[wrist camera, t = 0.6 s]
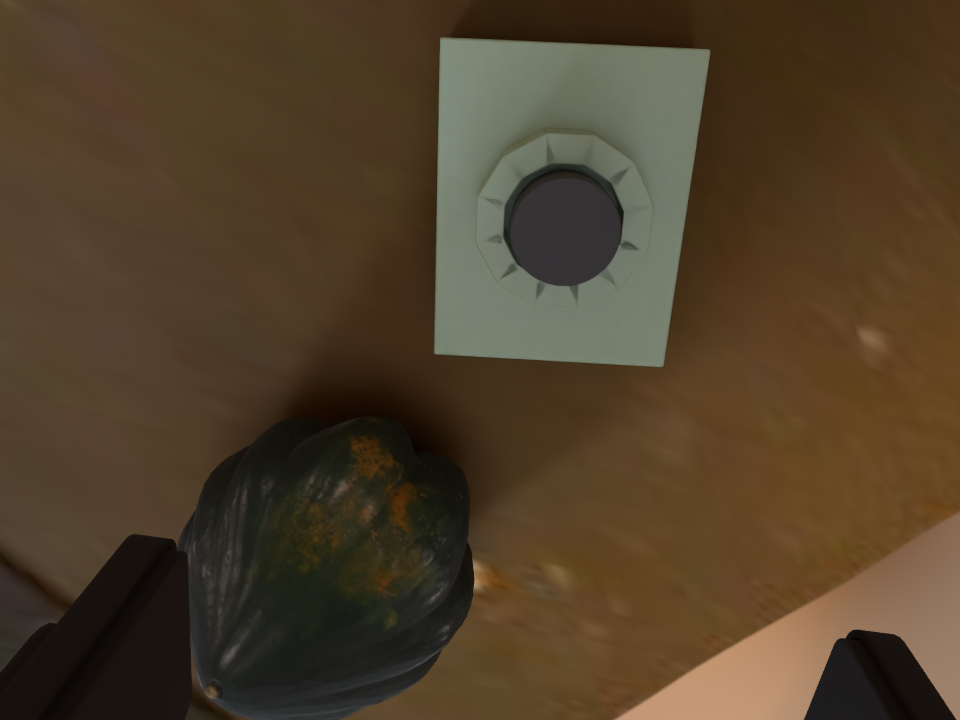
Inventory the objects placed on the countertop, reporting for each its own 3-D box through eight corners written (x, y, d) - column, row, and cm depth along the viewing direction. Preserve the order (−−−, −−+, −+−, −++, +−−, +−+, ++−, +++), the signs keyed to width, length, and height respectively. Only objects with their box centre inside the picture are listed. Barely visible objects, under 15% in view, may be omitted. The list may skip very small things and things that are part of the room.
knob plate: (446, 38, 33) (435, 35, 28) (694, 49, 32) (724, 48, 28) (439, 333, 38) (429, 371, 34) (652, 345, 38) (671, 385, 33)
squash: (578, 571, 37) (369, 639, 25) (404, 726, 42) (162, 844, 30) (433, 368, 43) (210, 341, 31) (299, 525, 49) (64, 555, 36)
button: (513, 166, 30) (513, 174, 28) (620, 172, 30) (627, 179, 28) (507, 270, 32) (507, 283, 30) (609, 275, 32) (614, 289, 30)
